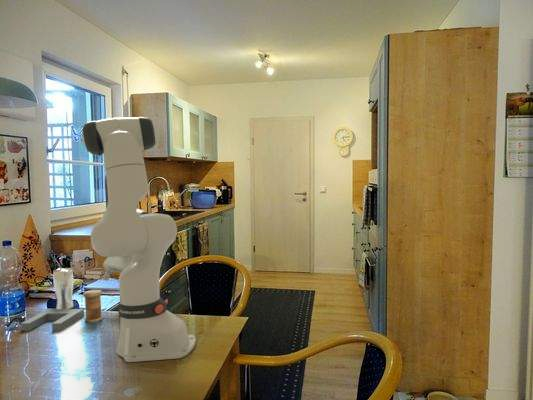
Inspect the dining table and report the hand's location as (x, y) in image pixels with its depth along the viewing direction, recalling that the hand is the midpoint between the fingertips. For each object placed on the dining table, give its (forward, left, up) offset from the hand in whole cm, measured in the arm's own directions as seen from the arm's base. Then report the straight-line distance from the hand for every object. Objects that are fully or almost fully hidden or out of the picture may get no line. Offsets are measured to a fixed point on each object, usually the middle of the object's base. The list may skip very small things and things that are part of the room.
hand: (112, 281), depth 145 cm
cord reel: (+4, +7, -12) cm, 14 cm away
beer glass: (+23, -6, -12) cm, 27 cm away
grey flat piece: (+17, +10, -12) cm, 23 cm away
